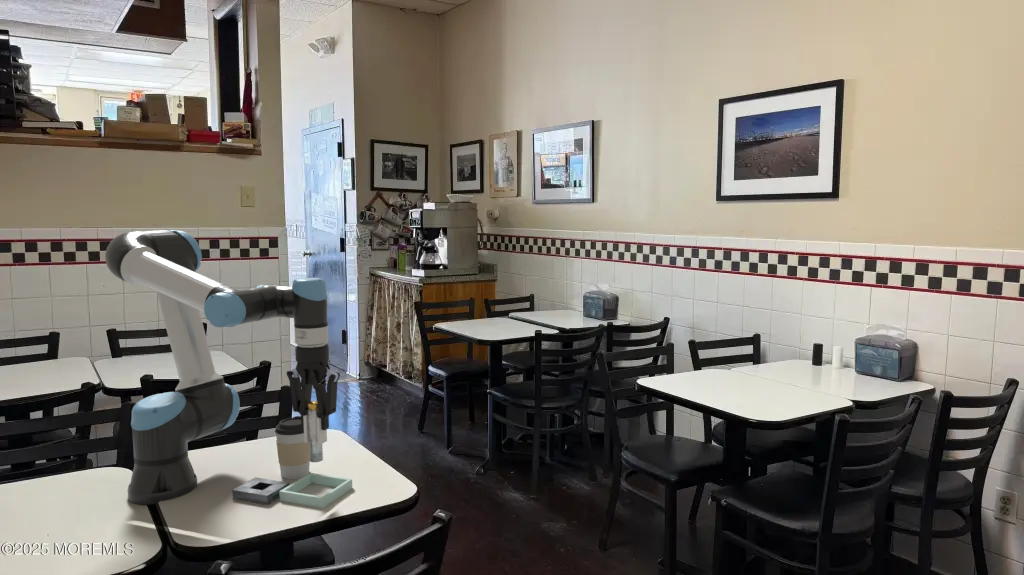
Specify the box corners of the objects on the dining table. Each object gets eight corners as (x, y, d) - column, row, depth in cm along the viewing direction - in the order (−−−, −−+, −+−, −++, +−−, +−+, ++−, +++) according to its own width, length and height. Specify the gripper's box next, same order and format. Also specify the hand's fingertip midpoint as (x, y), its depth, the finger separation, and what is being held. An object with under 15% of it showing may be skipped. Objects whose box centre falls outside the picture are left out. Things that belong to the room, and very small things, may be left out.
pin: (307, 461, 162) (304, 403, 160) (314, 457, 165) (312, 400, 163) (317, 462, 161) (315, 404, 159) (325, 458, 164) (323, 401, 162)
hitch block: (232, 502, 161) (232, 489, 161) (256, 489, 169) (255, 477, 168) (267, 508, 158) (267, 495, 158) (289, 494, 165) (289, 482, 165)
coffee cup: (302, 484, 171) (300, 426, 170) (269, 481, 173) (267, 424, 172) (319, 471, 180) (317, 415, 179) (288, 468, 182) (286, 413, 180)
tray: (279, 503, 160) (279, 491, 160) (311, 484, 172) (310, 472, 171) (323, 511, 156) (323, 498, 156) (352, 490, 168) (352, 479, 167)
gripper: (272, 345, 159) (277, 443, 161) (331, 349, 154) (335, 450, 156) (293, 339, 166) (297, 433, 169) (350, 343, 161) (353, 440, 163)
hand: (315, 441), depth 162 cm, fingers closed on pin, 3 cm apart
